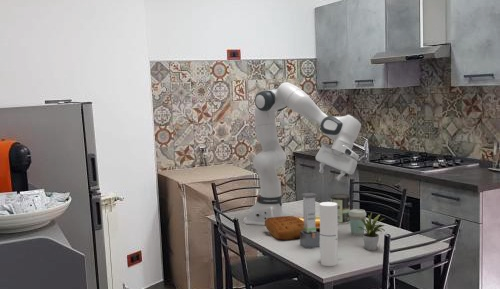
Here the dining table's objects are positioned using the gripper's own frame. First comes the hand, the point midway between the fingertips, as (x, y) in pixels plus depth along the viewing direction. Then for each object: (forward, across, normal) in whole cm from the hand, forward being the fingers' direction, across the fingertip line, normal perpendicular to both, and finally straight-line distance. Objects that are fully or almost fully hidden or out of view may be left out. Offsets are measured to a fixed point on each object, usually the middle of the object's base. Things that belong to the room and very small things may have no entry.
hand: (328, 176), depth 233 cm
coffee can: (+19, -7, +43) cm, 47 cm away
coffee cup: (+20, +12, +27) cm, 36 cm away
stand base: (+33, +6, 0) cm, 34 cm away
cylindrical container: (+34, +24, -12) cm, 43 cm away
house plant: (+22, +27, +12) cm, 37 cm away
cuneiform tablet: (+35, -13, +9) cm, 38 cm away
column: (+27, +5, -3) cm, 28 cm away
